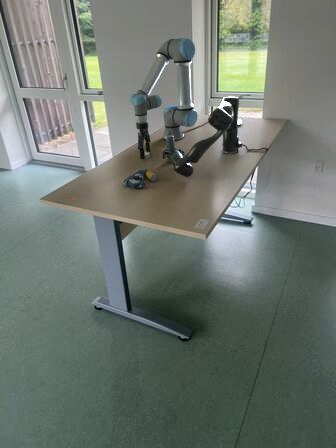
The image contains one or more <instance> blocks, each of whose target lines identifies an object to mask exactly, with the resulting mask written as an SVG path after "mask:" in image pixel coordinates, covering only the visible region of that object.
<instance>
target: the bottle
mask: <svg viewBox="0 0 336 448" xmlns="http://www.w3.org/2000/svg"><path fill="white" fill-rule="evenodd" d="M166 138H167V139H166V140H165V143H166V149H167V151H174V150H175V148H176V144H175V141H174V136H173V135H168V136H167V137H166ZM167 162H169V163H171V161H170V160H169V158H167Z"/></svg>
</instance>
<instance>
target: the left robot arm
mask: <svg viewBox="0 0 336 448" xmlns="http://www.w3.org/2000/svg"><path fill="white" fill-rule="evenodd" d="M195 55H196V45H195V43H194V41H193V40H192V39H191V38H187V37H183V38H181V37H180V38H170V39H167V40H166V41H164V43H163V44H161V46H160V47H159V49H158V50H157V52H156V53H155V59H154V60H153V63H152V64H151V66H150V67H149V69H148V71H147V73H146V75H145V77H144V79H143V81H142V82H141V84H140V86H139V88H138V89H137V91H136V93H133V94H132V95H130V97H129V102H130V104H131V105H132V106H133V110H134V119H135V126H136V127H135V128H136V129H137V130H139V132H138V133H137V150H139V156H140V160H146V159H145V153H144V152H149V153H151V142H152V140H151V135H150V134H149V127H150V126H149V117H148V111H150V110H155V109H157V108H160V107H161V106H162V104H163V100H162V97H161V96H160V95H159V94H153V95H151V93H152V90H153V89H154V87H155V85H156V83H157V81H158V80H159V79H160V76H161V74H162V72H163V71H164V69H165V67H166V65H169V63H170V62H171V61H172V60H173V64H174V65H175V66H176V79H177V80H176V82H177V96H178V97H177V99H178V104H171V105H166V106H165V107H163V113H162V114H163V123H164V130H163V135H162V139H163V140H164V141H166V139H167V138H166V137H167V136H168V135H173V136H174V142H176V141H180V140H182V139H184V137H185V136H184V133H187V132H190V131H192V130H195V129H197V128H199V127H202V126H204V125H206V124H207V123H208V120H207V121H206V122H204V123H202V124H199V125H198V126H195V125H196V123H197V121H198V118H199V115H198V111H197V110H196V109H195V105H194V104H193V103H192V88H191V87H192V83H191V64H192V63H193V59H194V58H195ZM194 126H195V127H194ZM182 127H185V128H189V129H187V130H184V131H183V129H182ZM144 145H145V148H144Z"/></svg>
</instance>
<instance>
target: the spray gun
mask: <svg viewBox="0 0 336 448" xmlns="http://www.w3.org/2000/svg"><path fill="white" fill-rule="evenodd" d="M145 177H146V179H148V180H149V181H150V182H155V181H156V180H157V179H158V176H157V174H156V173H154V172H153V171H152V170H148V168H147V167H145V168H137V170H135V171H134V172H133V173H131V174H130V175H129V176H128V177H126V178H125V179H124V181H123V186H126V187H131V188H133V189H142V188H144V187H145V186H146V183H147V182H146V181H145V180H144V179H145Z"/></svg>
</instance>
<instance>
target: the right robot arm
mask: <svg viewBox="0 0 336 448" xmlns="http://www.w3.org/2000/svg"><path fill="white" fill-rule="evenodd" d="M239 109H240V99H239V97H238V96H228V97H227V96H226V97H222V99H221V101H220V103H219V105H217V107H216V108H215V109H213V110H212V111H211V112H210V114H209V115H208V118H207V121H208V122H207V123H208V124H209V125H210V126H211V127H212V128H214V129H215V130H216V132H214V134H212V135H210V136H209V137H206V138H204V139H201V140H199V141H197V142H195V143H194V144H193V145H192V146H191V148H190V149H189V150H188V152H187V153H186V154H185V150H183V149H181V148H179V149H178V148H176V147H175V150H174V151H167V148H165V149H164V150H163V151H162V159H163V160H164V159H166V158H167V159H168V158H169V160H170V161H171V162H170V163H171V165H172V166H173V170H174V172H175V173H177V174H179V175H181V176H182V177H184V178H190V177H191V176H192V175H193V174H194V167H193V165H192V164H197V163H198V162H199V161H200V159H202V158H203V156H204V154H205V153H206V152H207V151H208V150H209V149H210V148H211V147H212V146H213V145H214V144H215V143H216V142H217V141H218V140H219V139H220V138H222V144H221V145H222V153H223V154H227V155H230V154H231V155H232V154H236V153H239V149H240V148H243V147H245V149H246V151H249V152H251V151H256V152H257V151H261V150H266V151H269V148H267V147H261V148H256V149H255V148H251V149H249V148H248V146H247V145H246V144H243V142H241V141H240V137H239V125H238V119H239V111H240V110H239Z"/></svg>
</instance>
